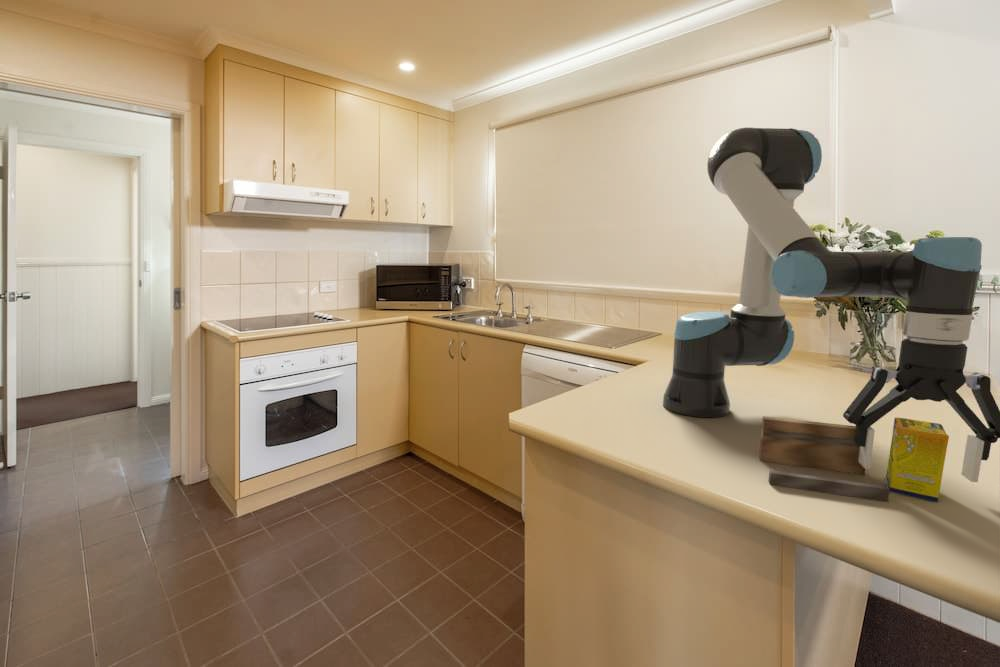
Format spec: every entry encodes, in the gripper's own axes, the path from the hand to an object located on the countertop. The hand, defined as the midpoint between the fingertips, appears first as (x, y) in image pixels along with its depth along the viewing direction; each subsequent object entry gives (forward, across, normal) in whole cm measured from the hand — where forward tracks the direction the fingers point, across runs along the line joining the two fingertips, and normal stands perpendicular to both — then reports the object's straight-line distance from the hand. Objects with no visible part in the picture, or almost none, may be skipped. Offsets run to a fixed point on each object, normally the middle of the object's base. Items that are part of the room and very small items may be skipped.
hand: (914, 471), depth 76 cm
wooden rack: (+3, -13, 0) cm, 13 cm away
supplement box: (+3, 0, 0) cm, 3 cm away
